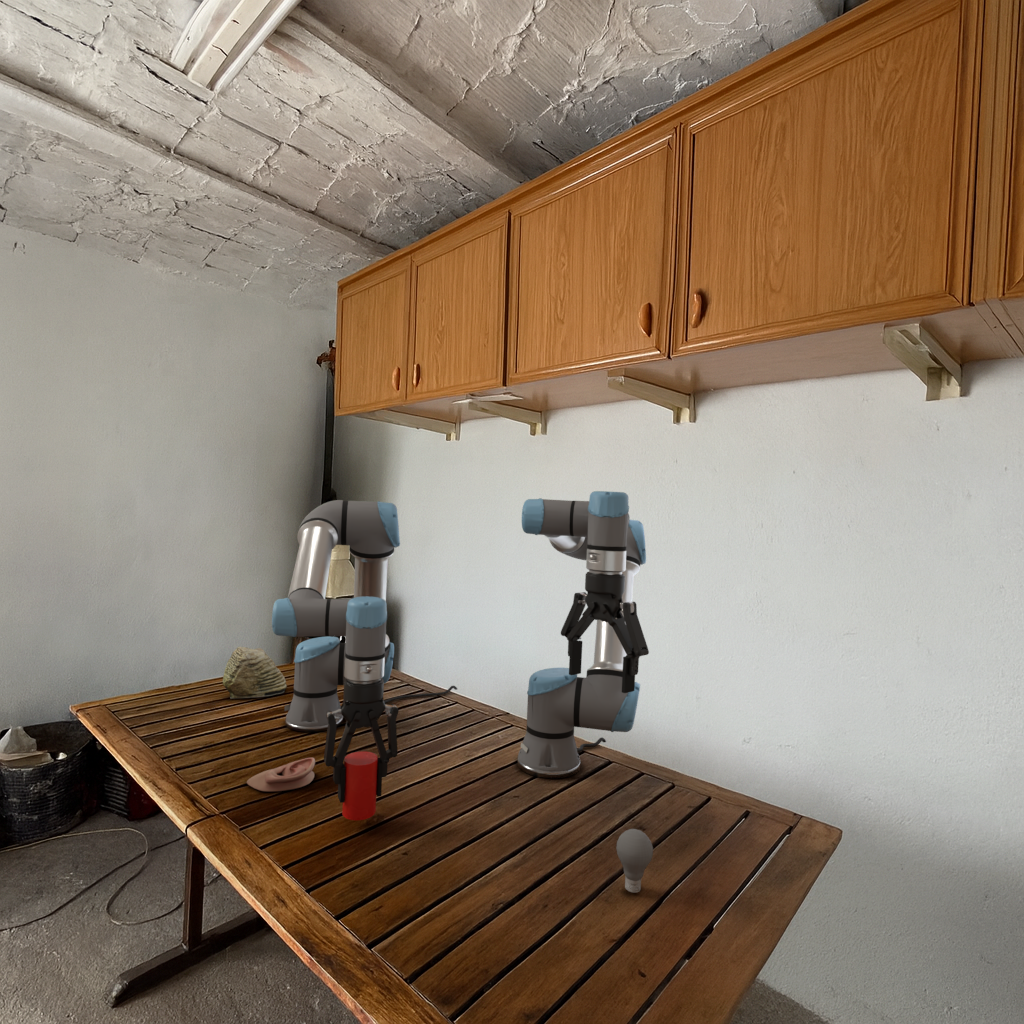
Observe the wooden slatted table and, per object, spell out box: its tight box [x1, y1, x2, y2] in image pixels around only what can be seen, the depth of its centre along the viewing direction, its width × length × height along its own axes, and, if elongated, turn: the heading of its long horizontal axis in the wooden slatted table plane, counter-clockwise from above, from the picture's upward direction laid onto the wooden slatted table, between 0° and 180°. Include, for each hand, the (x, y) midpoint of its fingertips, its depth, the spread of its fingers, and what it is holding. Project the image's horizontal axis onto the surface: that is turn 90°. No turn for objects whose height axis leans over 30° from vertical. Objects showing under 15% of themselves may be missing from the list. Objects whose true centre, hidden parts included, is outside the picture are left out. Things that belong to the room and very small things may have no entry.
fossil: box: [222, 646, 288, 699], centre depth 198 cm, size 9×18×15 cm, turn 132°
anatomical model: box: [246, 757, 316, 792], centre depth 140 cm, size 13×4×12 cm
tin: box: [341, 751, 379, 821], centre depth 123 cm, size 6×6×11 cm
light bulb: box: [615, 828, 654, 894], centre depth 106 cm, size 6×6×10 cm
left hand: (359, 795), depth 123 cm, fingers closed on tin, 6 cm apart
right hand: (600, 682), depth 121 cm, fingers open, 13 cm apart
